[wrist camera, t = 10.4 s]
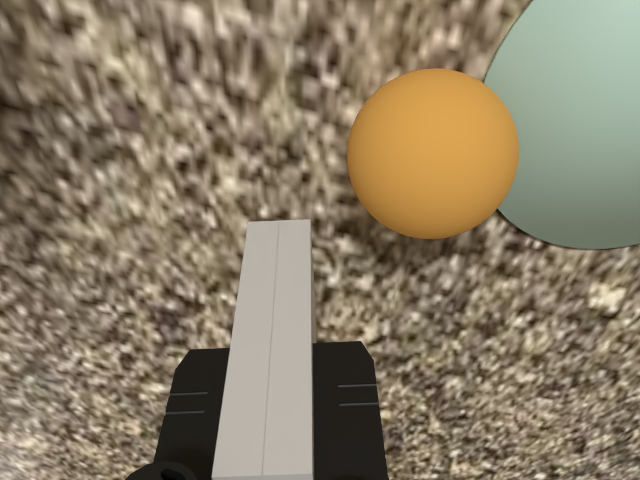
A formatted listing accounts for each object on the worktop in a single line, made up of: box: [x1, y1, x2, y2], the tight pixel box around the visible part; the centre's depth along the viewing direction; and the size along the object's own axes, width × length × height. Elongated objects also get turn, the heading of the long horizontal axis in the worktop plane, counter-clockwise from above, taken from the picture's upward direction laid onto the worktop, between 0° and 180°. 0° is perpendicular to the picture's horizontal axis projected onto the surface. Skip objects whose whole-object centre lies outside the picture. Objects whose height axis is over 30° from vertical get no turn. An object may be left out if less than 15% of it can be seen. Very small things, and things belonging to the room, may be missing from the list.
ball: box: [347, 69, 519, 239], centre depth 18 cm, size 6×6×6 cm
